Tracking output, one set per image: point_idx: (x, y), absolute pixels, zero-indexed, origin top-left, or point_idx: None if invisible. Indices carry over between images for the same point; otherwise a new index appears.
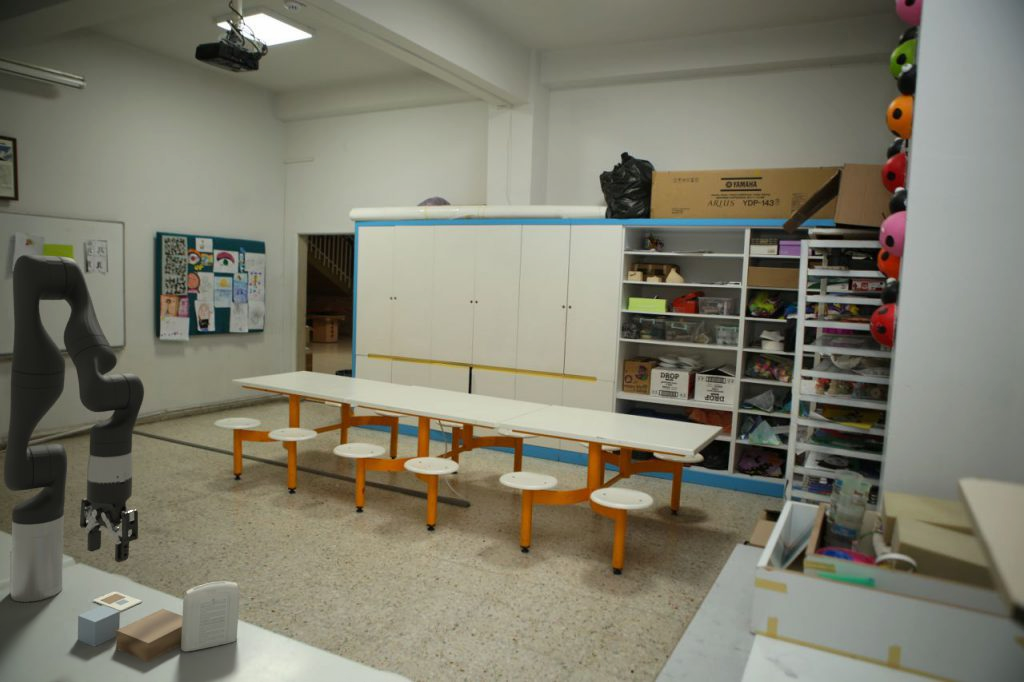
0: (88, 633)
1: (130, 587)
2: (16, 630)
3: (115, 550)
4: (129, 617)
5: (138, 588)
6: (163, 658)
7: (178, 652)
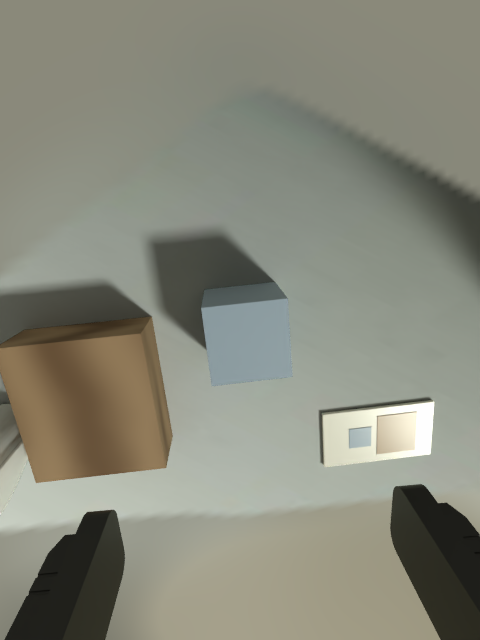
0: (231, 293)
1: None
2: (459, 208)
3: (78, 587)
4: (276, 411)
5: None
6: None
7: None
